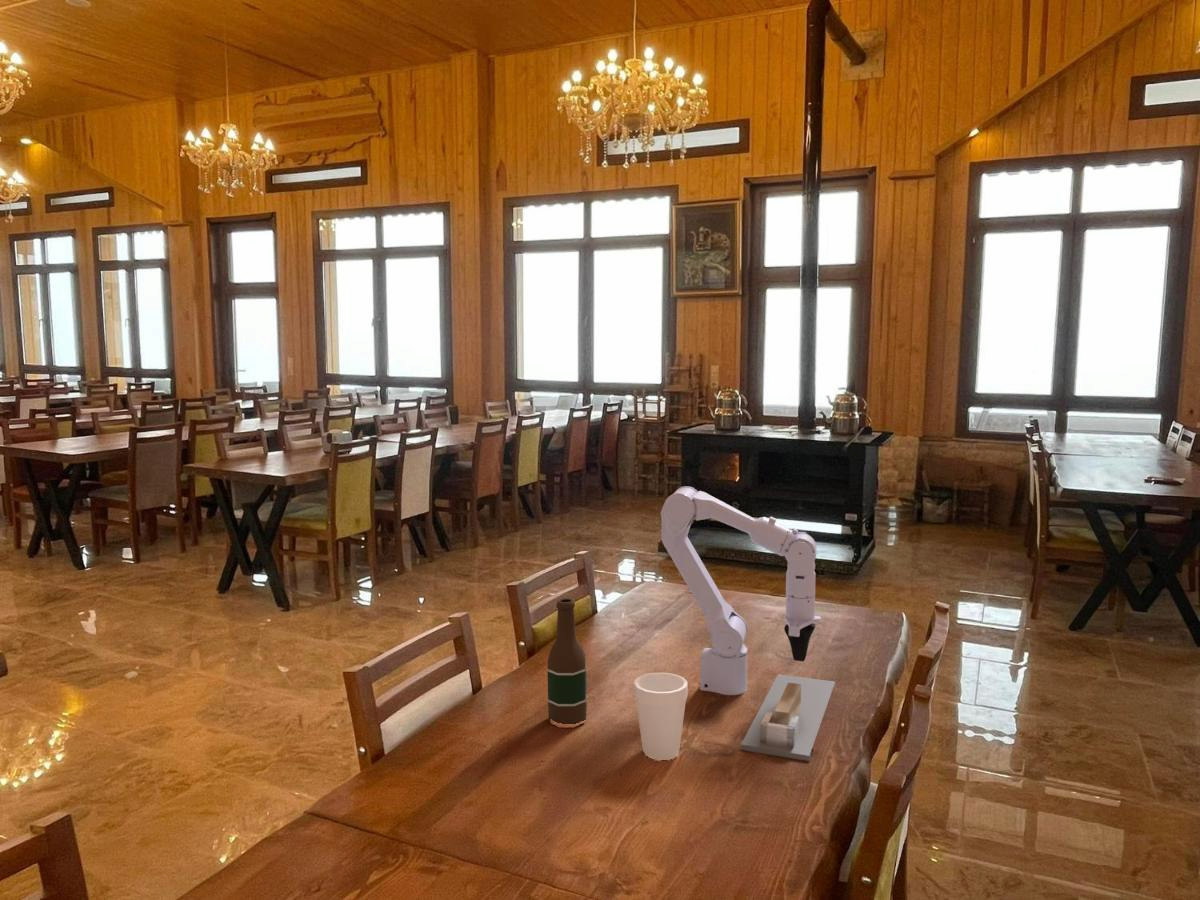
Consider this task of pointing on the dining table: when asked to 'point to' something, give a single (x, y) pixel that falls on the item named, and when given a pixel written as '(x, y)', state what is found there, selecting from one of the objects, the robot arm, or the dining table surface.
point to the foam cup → (660, 713)
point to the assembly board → (809, 714)
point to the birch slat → (788, 704)
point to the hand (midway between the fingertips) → (799, 659)
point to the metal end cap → (779, 731)
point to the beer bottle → (566, 670)
